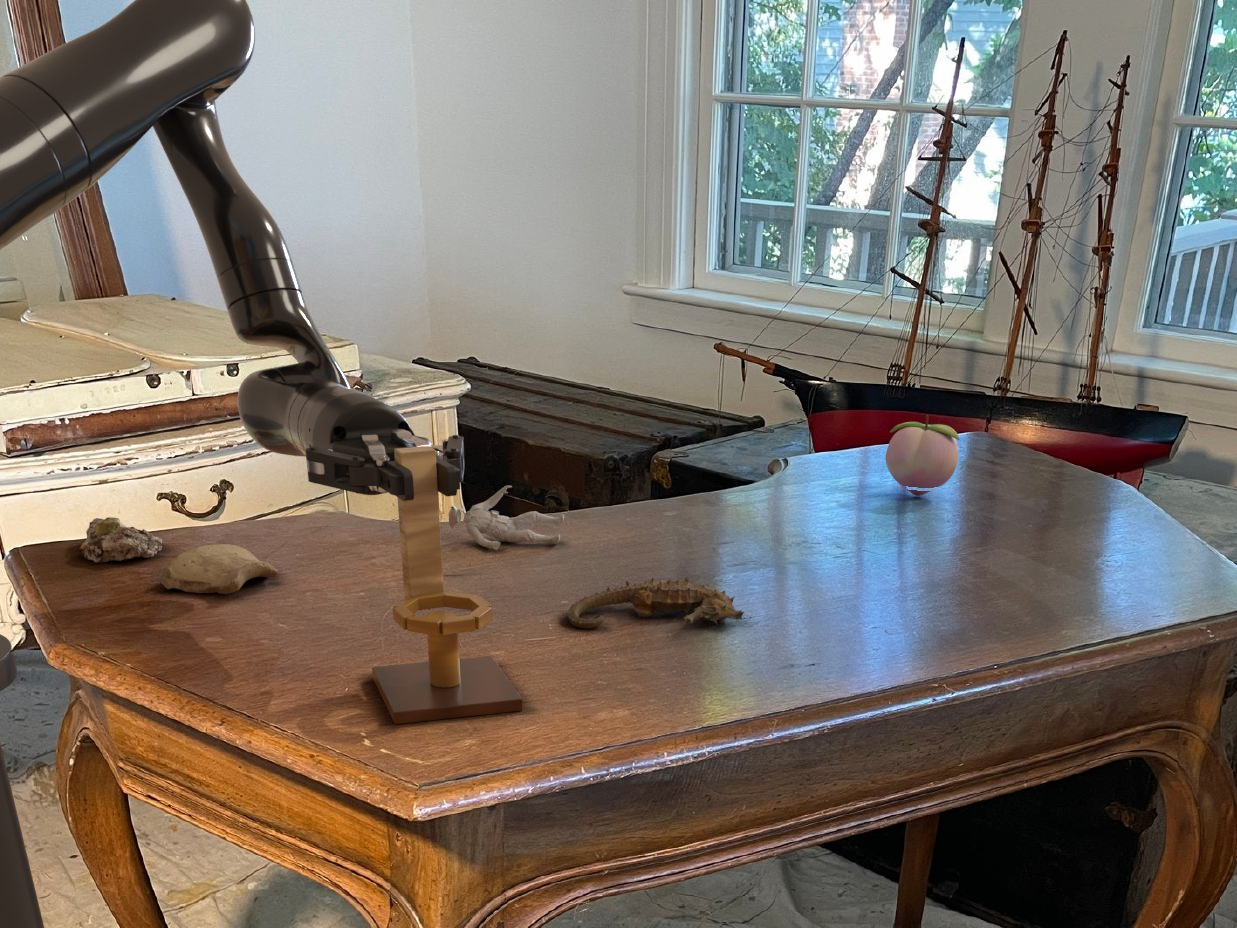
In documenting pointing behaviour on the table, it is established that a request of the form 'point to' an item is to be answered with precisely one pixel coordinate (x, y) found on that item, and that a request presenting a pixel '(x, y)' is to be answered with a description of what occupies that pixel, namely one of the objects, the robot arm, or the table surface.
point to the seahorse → (659, 601)
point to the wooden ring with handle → (428, 556)
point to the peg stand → (445, 684)
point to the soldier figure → (501, 523)
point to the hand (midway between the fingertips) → (430, 484)
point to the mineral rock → (117, 541)
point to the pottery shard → (214, 569)
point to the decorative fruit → (922, 455)
